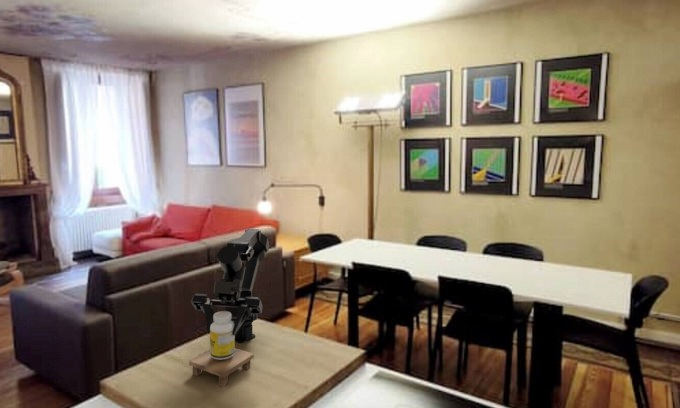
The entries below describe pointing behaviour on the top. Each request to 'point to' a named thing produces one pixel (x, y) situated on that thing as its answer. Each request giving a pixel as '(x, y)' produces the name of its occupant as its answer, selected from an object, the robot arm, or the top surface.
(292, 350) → the top surface
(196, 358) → the small wooden stand
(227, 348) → the pill bottle
